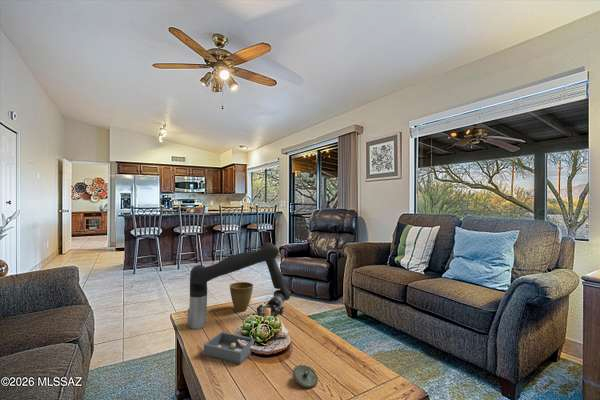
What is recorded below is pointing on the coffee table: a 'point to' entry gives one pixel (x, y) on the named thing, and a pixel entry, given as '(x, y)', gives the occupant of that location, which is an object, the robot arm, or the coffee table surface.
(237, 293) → the plant pot
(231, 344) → the parts tub
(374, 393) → the coffee table surface
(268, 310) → the tub lid
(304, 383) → the lid
